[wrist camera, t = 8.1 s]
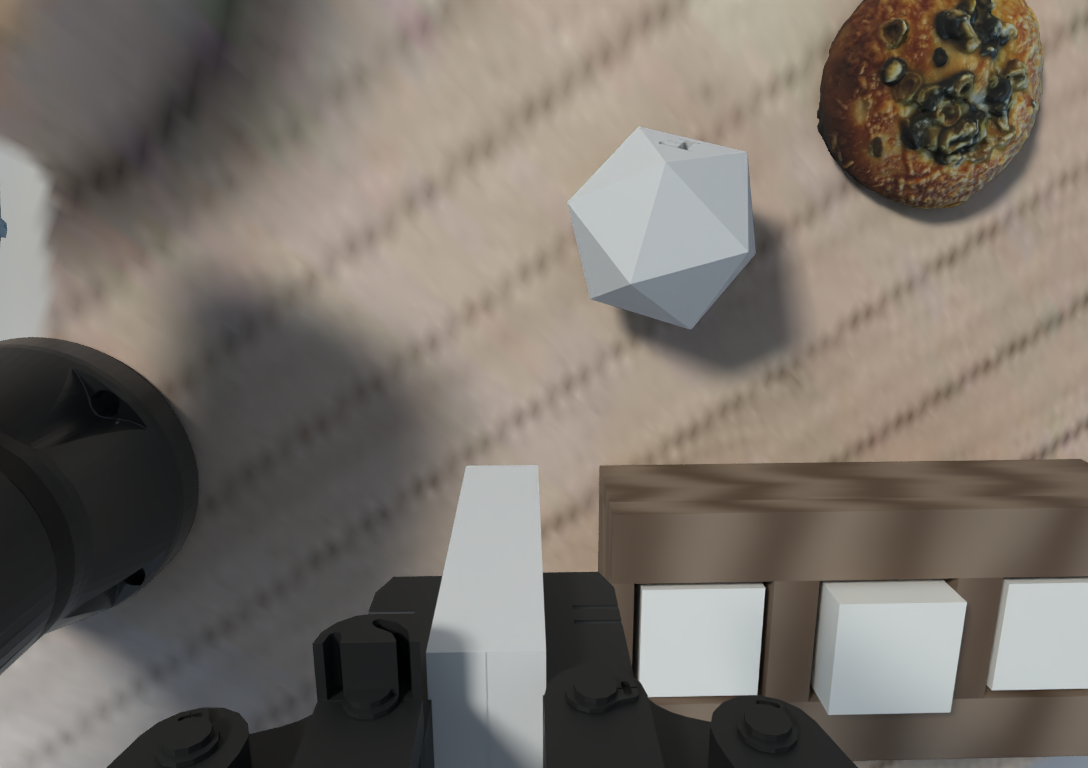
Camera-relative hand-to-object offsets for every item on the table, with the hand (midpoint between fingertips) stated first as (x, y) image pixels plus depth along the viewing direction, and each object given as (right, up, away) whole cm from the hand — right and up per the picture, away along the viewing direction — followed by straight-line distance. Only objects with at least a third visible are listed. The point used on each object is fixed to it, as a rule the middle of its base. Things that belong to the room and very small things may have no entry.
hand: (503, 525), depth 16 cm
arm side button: (+9, -9, +24) cm, 27 cm away
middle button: (+18, -9, +23) cm, 30 cm away
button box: (+17, -8, +28) cm, 34 cm away
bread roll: (+20, +18, +22) cm, 34 cm away
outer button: (+27, -9, +25) cm, 37 cm away
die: (+6, +11, +23) cm, 26 cm away
